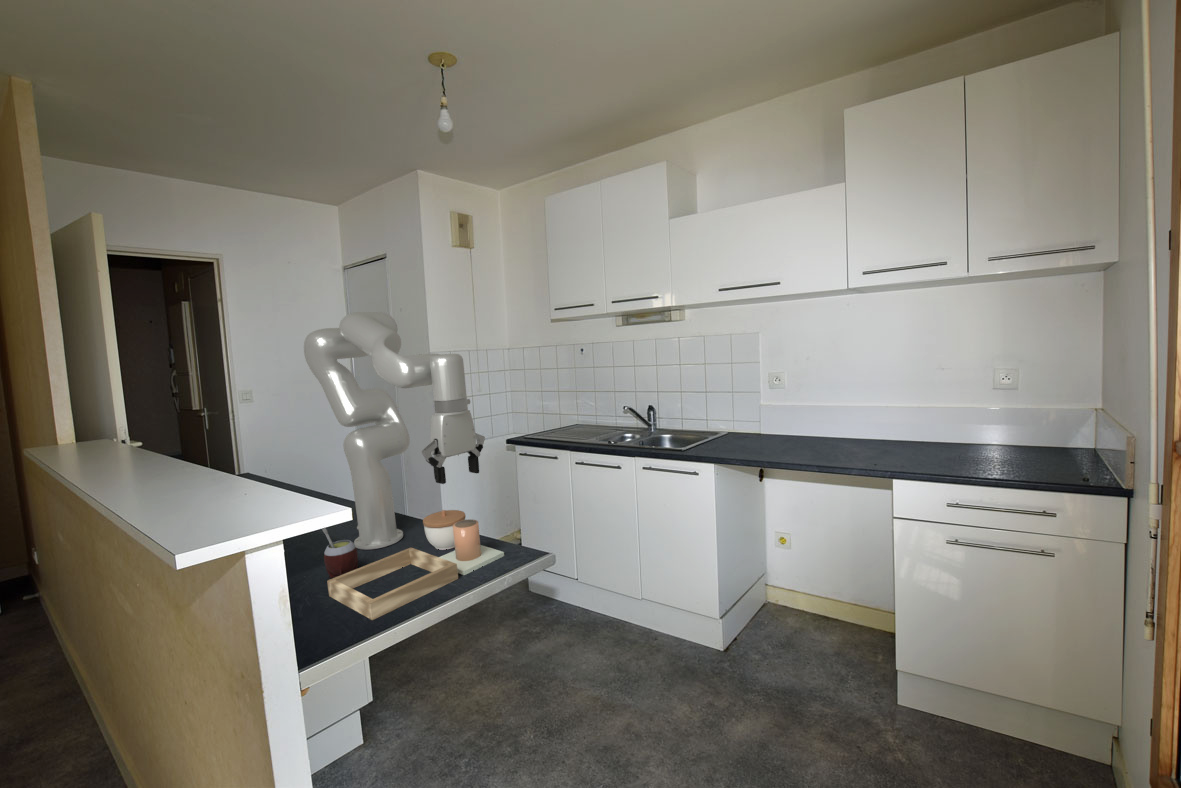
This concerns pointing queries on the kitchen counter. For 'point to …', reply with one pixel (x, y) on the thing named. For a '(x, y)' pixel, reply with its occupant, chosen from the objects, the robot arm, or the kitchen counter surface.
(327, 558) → the mate gourd
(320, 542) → the kitchen counter surface
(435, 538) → the lidded jar
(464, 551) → the terracotta pot
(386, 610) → the frame
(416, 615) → the kitchen counter surface
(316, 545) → the kitchen counter surface
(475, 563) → the sage tile
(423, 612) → the kitchen counter surface
